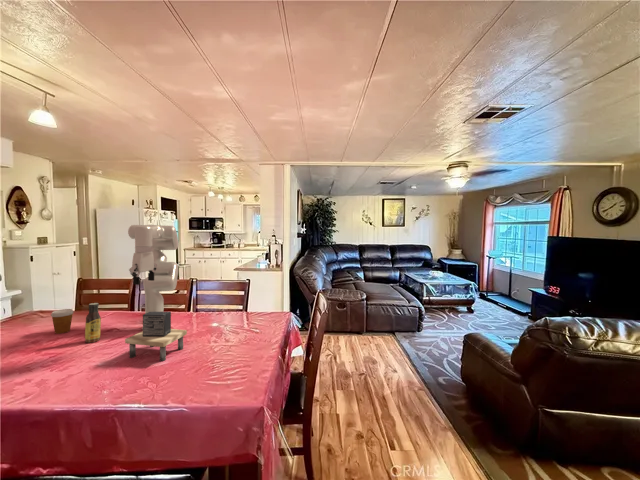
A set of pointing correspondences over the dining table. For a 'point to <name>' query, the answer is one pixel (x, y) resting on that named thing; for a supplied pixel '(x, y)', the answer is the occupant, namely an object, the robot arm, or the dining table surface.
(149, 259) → the robot arm
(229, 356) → the dining table surface
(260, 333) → the dining table surface
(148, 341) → the peg shelf
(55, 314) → the disposable coffee cup
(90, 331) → the sauce bottle
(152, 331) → the small box
